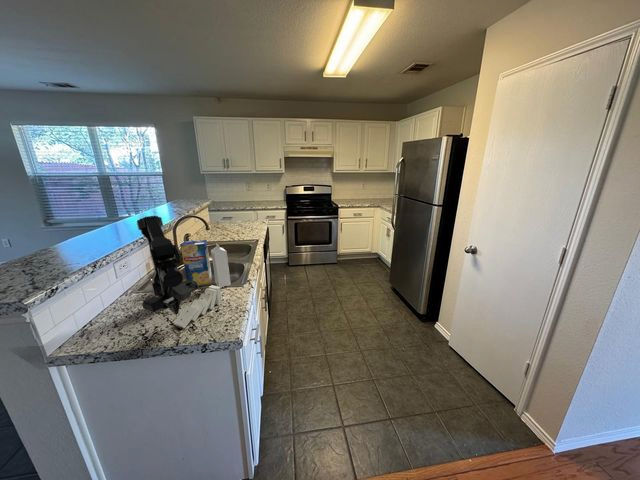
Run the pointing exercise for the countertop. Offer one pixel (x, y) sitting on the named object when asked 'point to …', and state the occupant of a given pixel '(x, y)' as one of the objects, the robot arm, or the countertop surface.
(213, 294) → the domino
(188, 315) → the domino
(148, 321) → the countertop surface
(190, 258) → the blue cardboard box
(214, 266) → the milk
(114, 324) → the countertop surface
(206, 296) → the domino
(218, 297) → the domino
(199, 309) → the domino
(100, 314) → the countertop surface
